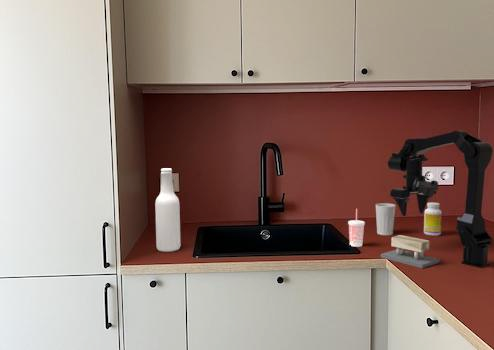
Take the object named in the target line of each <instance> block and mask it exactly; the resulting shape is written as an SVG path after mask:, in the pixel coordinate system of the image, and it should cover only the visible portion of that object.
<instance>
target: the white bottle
mask: <svg viewBox="0 0 494 350" xmlns="http://www.w3.org/2000/svg"><path fill="white" fill-rule="evenodd" d="M160 171H161V172H160V174H161V175H160V177H161V178H160V192H159V195H158V196H157V197H156V199H155V202H154V205H155V238H156V239H155V240H156V241H155V243H156V249H157V250H158V251H159V252H164V253H166V252H167V253H169V252H176V251H178V250H180V248H181V246H182V245H181V216H180V213H181V211H180V210H181V208H180V204H181V203H180V200H179V197H178V196H177V195H176V193H175V192H174V183H173V169H172V168H168V167H167V168H166V167H165V168H161V169H160Z"/></svg>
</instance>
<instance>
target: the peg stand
mask: <svg viewBox="0 0 494 350" xmlns="http://www.w3.org/2000/svg"><path fill="white" fill-rule="evenodd" d="M395 248H396V249H393V250H390V251H386V252H384V253H380V258H381V259H386V260H389V261H392V262H396V263H400V264H404V265H408V266H411V267H415V268H419V269H424V268H428V267H430V266H434V265H436V264H440V258H437V257H433V256H429V255H425V254H424V252H417V251H409V250H406V249H403V248H398V247H395Z"/></svg>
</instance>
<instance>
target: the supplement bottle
mask: <svg viewBox="0 0 494 350" xmlns="http://www.w3.org/2000/svg"><path fill="white" fill-rule="evenodd" d="M426 206H427V208H425V209H424V211H423V213H424V215H423V217H424V218H423V234H424V235H426V236H431V237H432V236H435V237H436V236H439V235H441V234H442V216H443V215H442V213H443V212H442V210H441V209H440V203H439V202H427V203H426Z"/></svg>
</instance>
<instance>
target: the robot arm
mask: <svg viewBox="0 0 494 350" xmlns="http://www.w3.org/2000/svg"><path fill="white" fill-rule="evenodd" d="M453 144H455V146H456V148H457V149H458V151H460V152H461V153H462V154H463V158H464V163H465V165H466V167H467V182H466V193H465V195H466V196H465V207H464V213H463V215H461V216H457V218H456V222H457V223H456V228H455V229H456V230H457V235H458V236H459V240H460V242H461V246H462V247H463V246H464V247H463V249H462V261H461V264H465V265H469V266H472V267H478V268H482V267H485V266H487V265H490V264H491V263H490V261H488V258H489V257H488V256H489V246H491V244H492V242H493V238H492V237H491V234H489V233H488V231H487V230H486V222H485V218H484V216H483V215H482V210H483V209H482V208H483V207H482V206H483V197H484V196H483V195H484V185H485V175H486V174H485V172H486V169H487V167H488V166H489V164H490V162H491V159H492V155H493V146H492V145H490V143H488V142H485V141H482V140H481V139H480V138H478V137H476V136H474V135H471V134H470V133H468V132H467V131H466V130H461V129H460V130H453V131H451V132H450V131H449V132H446V133H443V134H439V135H434V136H430V137H426V138H425V137H424V138H423V137H422V138H420V137H419V138H407V139H406V140H405V141H404V144H403V145H402V147H401V149H400V150H399V152H392V153H391V156H390V157H389V158H388V161H387V166H388V169H390V171H395V172H396V171H397V172H404V173H405V174H403V179H405V185H403V186H402V188H400V187H399V188H391V190H390V191H389V192H390V195H389V196H390V197H392V199H394V201H395V202H396V204H397V206H398V209H399V211H400V213H401V215H402V216H403V217H406V215H407V208H408V202H409V201H410V200H411V198H409V197H410V196H411V195H415V194H416V200H417V206H418V211H419V214H423V213H424V212H425V210H426V206H427V203H428V201H429V200H430V199H431V198H432V197H434V196H435V195H437V191H439V181H437V180H434V179H433V180H431V181H429V180H428V181H427V180H426V175H423V165H424V164H423V162H428V161H429V159H428V157H427V156H425V153H427V152H429V151H430V150H432V149H434V148H435V149H436V148H439V147H445V146H448V145H453Z"/></svg>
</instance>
